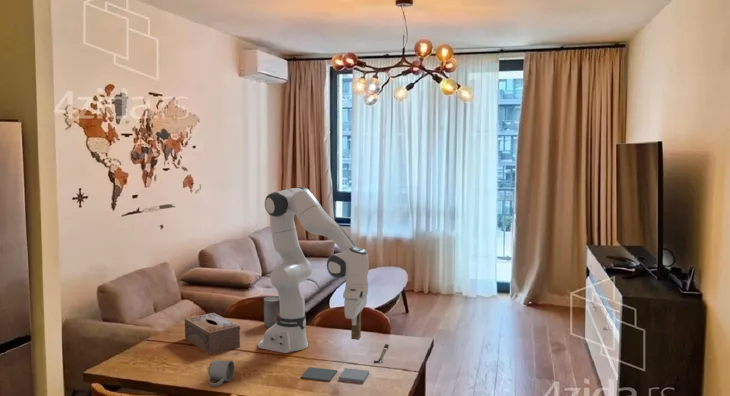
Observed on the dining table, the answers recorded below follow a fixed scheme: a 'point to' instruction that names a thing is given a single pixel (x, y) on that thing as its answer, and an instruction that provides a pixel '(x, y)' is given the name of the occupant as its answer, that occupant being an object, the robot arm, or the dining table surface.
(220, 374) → the ceramic mug
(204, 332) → the tissue box cover
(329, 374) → the mat
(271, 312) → the pillar candle
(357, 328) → the wooden block
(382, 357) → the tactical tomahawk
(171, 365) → the dining table surface
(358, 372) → the tile
